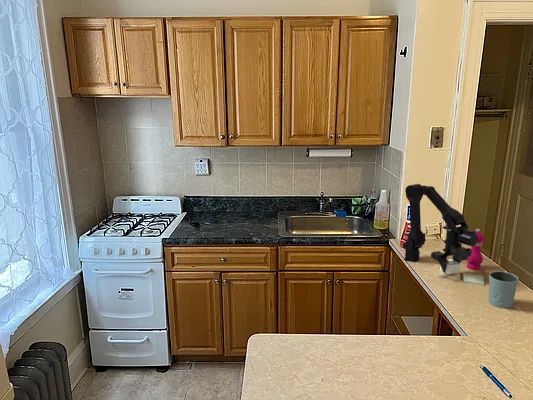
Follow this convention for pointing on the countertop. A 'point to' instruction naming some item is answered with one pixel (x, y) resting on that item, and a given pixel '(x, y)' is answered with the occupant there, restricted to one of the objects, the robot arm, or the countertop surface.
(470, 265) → the pepper mill
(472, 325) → the countertop surface
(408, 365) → the countertop surface
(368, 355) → the countertop surface
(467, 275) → the pad
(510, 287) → the teal plant pot
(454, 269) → the white cabinet cube
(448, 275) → the post base
